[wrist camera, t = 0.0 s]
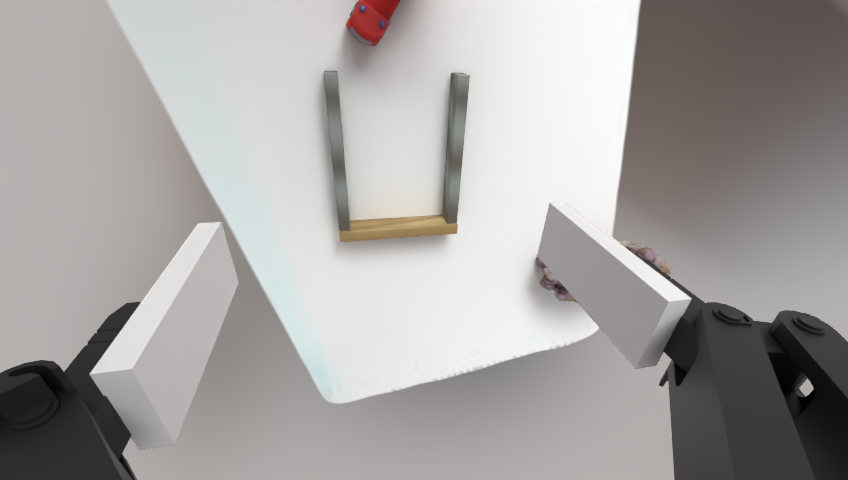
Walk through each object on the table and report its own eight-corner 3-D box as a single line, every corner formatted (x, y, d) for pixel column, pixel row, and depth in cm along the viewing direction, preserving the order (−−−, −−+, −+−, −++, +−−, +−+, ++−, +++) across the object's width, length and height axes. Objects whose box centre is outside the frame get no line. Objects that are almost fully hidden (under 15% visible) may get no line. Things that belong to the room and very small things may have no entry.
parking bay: (324, 70, 36) (323, 74, 33) (462, 73, 38) (471, 76, 36) (340, 229, 45) (340, 242, 42) (450, 222, 48) (456, 233, 45)
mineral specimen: (546, 324, 54) (587, 323, 44) (521, 262, 56) (555, 248, 46) (649, 282, 59) (706, 272, 50) (623, 226, 61) (673, 207, 51)
